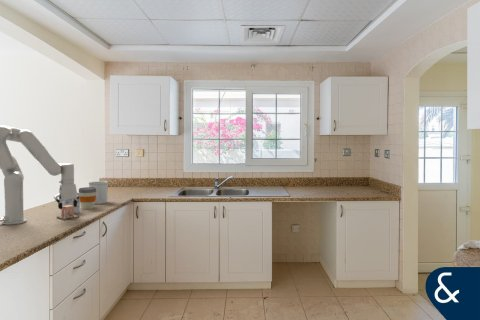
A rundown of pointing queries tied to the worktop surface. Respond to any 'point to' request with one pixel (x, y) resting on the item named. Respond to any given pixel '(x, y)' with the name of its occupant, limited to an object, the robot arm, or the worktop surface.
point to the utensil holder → (100, 191)
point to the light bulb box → (70, 202)
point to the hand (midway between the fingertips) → (67, 207)
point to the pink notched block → (68, 207)
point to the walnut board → (67, 217)
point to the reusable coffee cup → (87, 197)
